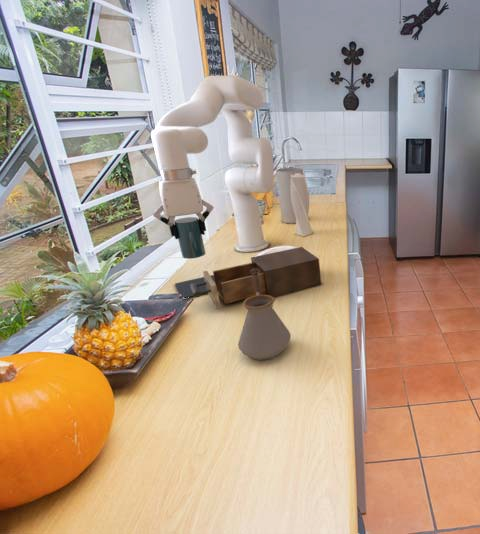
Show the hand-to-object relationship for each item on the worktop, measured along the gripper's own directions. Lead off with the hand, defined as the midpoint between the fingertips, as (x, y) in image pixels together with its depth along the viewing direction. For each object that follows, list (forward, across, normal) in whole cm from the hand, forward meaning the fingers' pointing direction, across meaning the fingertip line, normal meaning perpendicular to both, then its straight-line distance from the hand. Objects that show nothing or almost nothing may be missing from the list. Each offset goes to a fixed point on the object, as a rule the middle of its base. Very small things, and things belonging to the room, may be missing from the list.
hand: (189, 235), depth 115 cm
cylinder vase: (+17, -53, -57) cm, 80 cm away
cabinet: (+17, -23, +14) cm, 32 cm away
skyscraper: (+17, -48, -33) cm, 61 cm away
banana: (+17, -28, -5) cm, 33 cm away
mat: (+17, 0, 0) cm, 17 cm away
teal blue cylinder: (+6, 0, 0) cm, 6 cm away
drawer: (+16, -6, +14) cm, 22 cm away
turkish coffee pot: (+17, -7, +42) cm, 46 cm away
